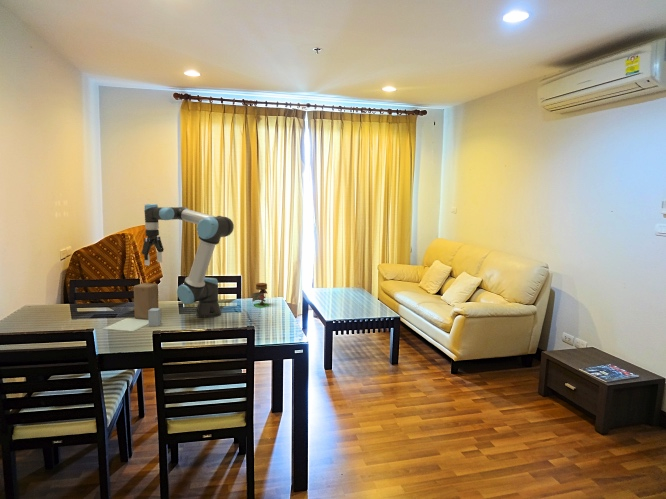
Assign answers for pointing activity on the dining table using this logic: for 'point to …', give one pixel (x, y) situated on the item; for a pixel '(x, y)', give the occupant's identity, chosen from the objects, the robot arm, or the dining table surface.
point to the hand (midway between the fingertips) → (153, 263)
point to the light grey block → (154, 316)
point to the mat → (128, 325)
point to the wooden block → (145, 299)
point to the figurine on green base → (260, 295)
